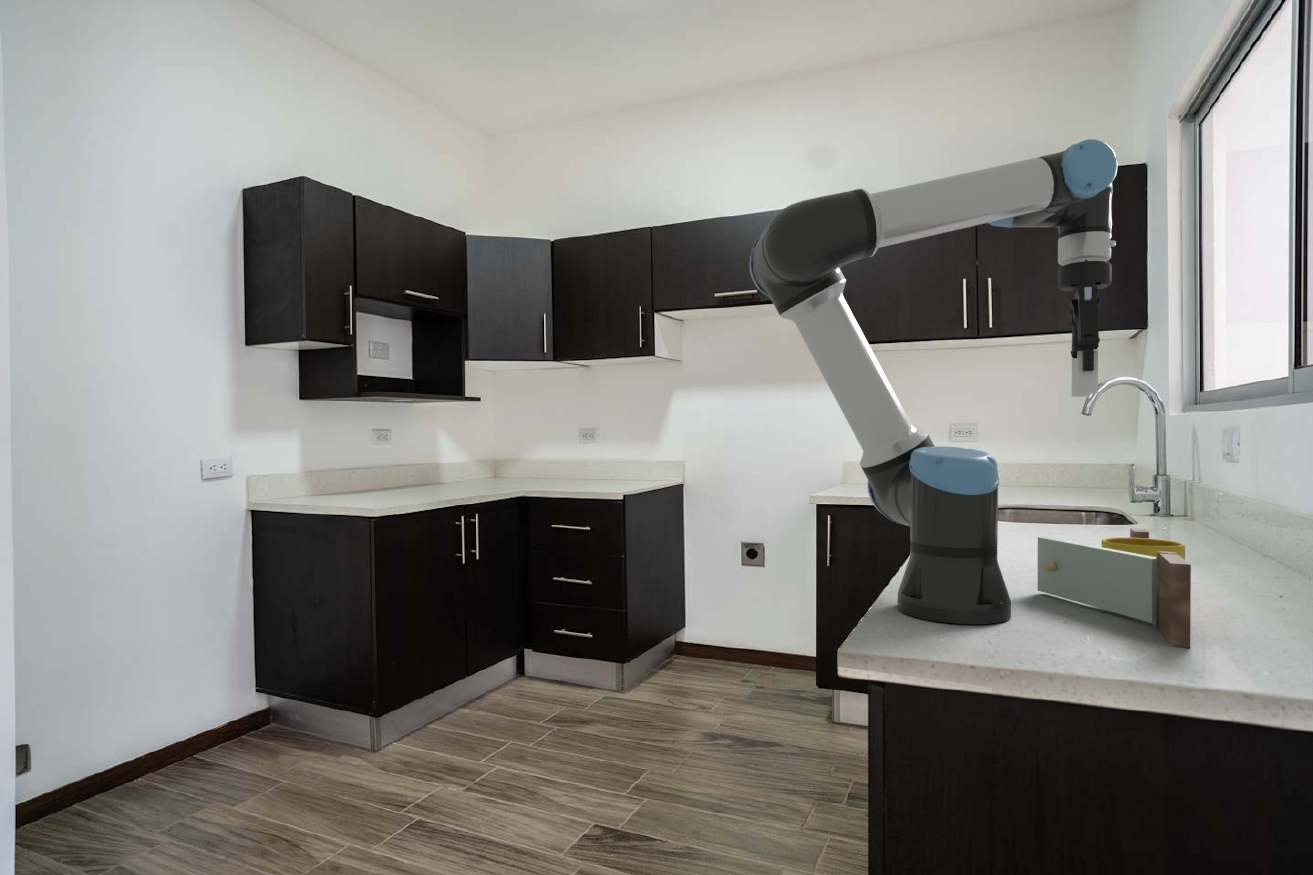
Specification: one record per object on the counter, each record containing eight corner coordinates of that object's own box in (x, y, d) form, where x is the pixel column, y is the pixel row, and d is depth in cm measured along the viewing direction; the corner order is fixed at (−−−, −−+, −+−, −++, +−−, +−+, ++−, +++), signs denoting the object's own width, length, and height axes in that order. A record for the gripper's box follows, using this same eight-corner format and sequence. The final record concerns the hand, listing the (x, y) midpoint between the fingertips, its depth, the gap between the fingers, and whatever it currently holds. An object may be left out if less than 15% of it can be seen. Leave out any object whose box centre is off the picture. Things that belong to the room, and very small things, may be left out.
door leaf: (1144, 623, 100) (1144, 559, 100) (1031, 590, 120) (1031, 537, 120) (1161, 622, 101) (1161, 558, 100) (1046, 589, 121) (1046, 536, 121)
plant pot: (1096, 597, 118) (1097, 534, 118) (1175, 603, 114) (1176, 538, 114) (1106, 612, 108) (1106, 543, 108) (1193, 619, 104) (1193, 548, 104)
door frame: (1168, 645, 91) (1168, 563, 91) (1128, 588, 124) (1128, 528, 124) (1192, 648, 90) (1192, 564, 90) (1145, 590, 123) (1146, 528, 123)
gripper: (1121, 244, 110) (1120, 390, 110) (1103, 276, 132) (1102, 397, 132) (1062, 249, 113) (1061, 392, 113) (1054, 279, 135) (1054, 398, 136)
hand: (1083, 395), depth 123 cm, fingers open, 13 cm apart
